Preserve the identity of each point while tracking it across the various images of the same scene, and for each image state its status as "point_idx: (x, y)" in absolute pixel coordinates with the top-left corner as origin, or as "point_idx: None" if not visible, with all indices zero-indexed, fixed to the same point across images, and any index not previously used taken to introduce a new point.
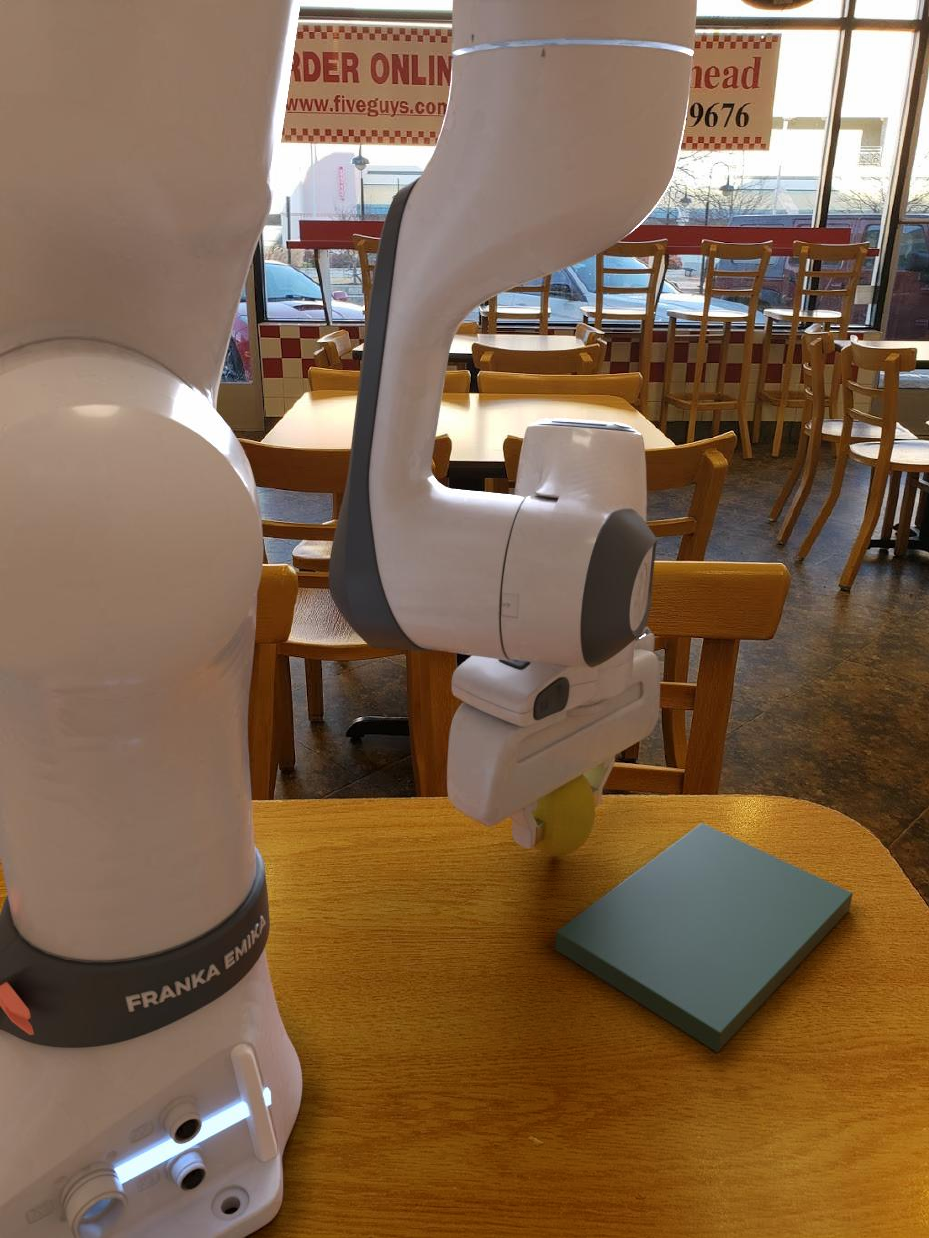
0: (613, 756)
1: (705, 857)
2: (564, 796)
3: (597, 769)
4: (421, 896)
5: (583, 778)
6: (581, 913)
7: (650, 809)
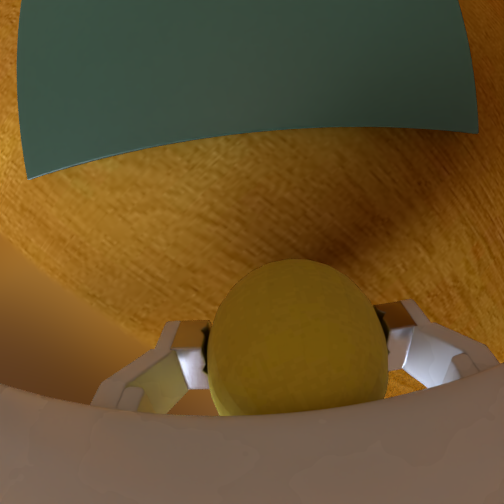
0: (100, 401)
1: (90, 90)
2: (363, 366)
3: (148, 393)
4: (469, 320)
5: (257, 396)
6: (428, 126)
7: (63, 276)
